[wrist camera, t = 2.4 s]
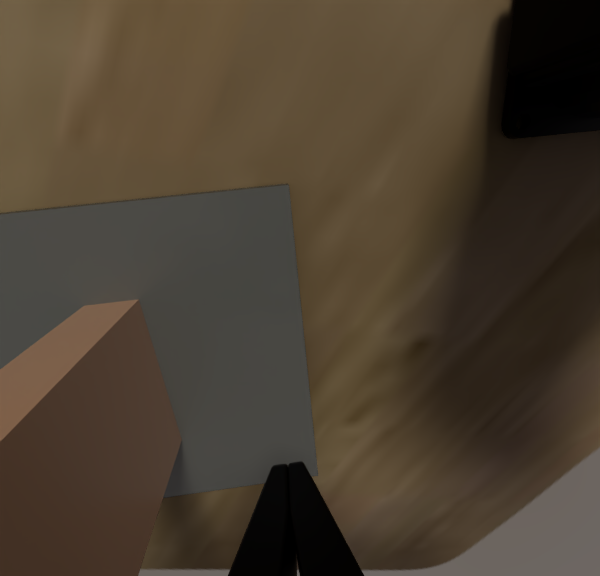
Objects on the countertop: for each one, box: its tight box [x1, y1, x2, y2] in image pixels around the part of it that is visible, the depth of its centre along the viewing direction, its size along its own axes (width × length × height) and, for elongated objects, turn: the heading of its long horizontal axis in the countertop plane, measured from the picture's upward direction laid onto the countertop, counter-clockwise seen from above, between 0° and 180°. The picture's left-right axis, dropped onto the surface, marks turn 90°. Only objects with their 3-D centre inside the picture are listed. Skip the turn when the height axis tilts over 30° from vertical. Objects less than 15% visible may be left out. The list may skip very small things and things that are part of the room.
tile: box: [0, 299, 182, 576], centre depth 9 cm, size 2×7×8 cm, turn 6°
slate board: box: [0, 184, 318, 498], centre depth 13 cm, size 20×14×2 cm
